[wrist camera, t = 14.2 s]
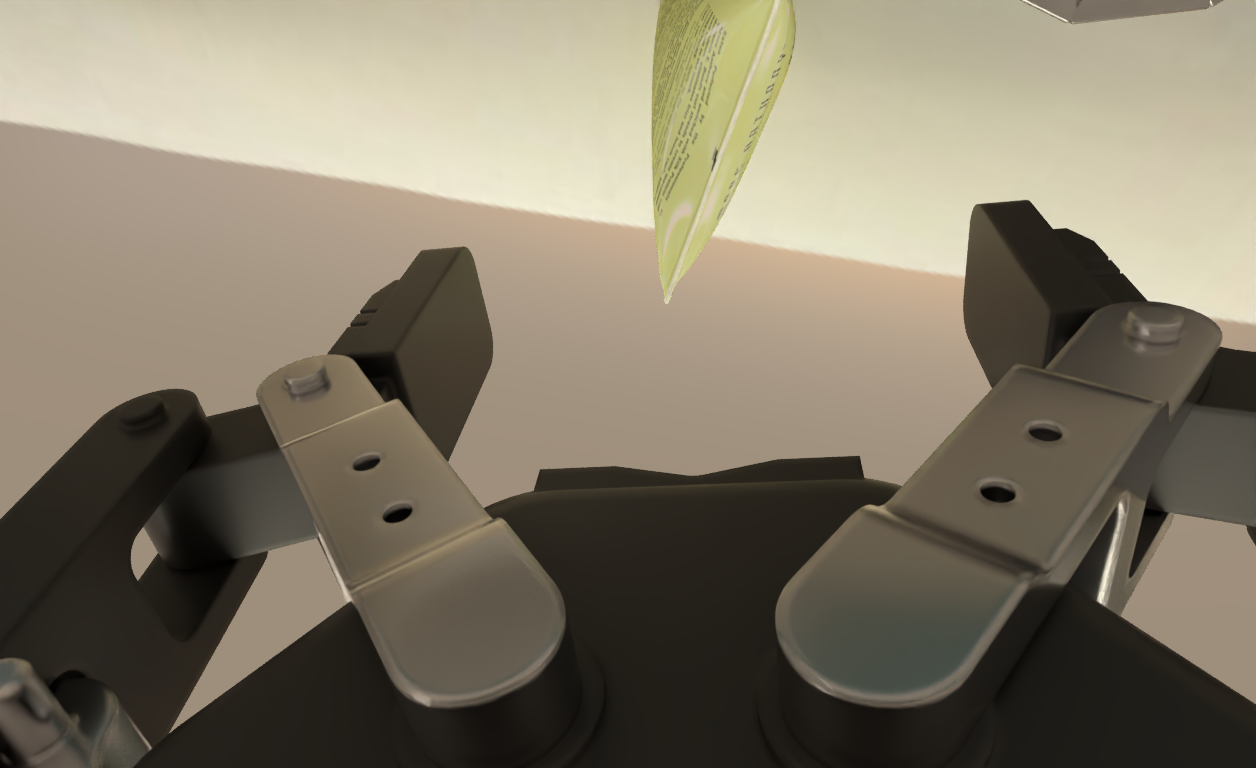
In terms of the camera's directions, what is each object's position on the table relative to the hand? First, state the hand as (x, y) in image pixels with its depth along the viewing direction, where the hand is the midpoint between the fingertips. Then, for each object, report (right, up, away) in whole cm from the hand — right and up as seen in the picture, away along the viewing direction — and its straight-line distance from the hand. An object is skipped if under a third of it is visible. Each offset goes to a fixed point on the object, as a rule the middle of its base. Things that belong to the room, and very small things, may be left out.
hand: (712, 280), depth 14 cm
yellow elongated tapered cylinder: (+2, +14, +21) cm, 25 cm away
